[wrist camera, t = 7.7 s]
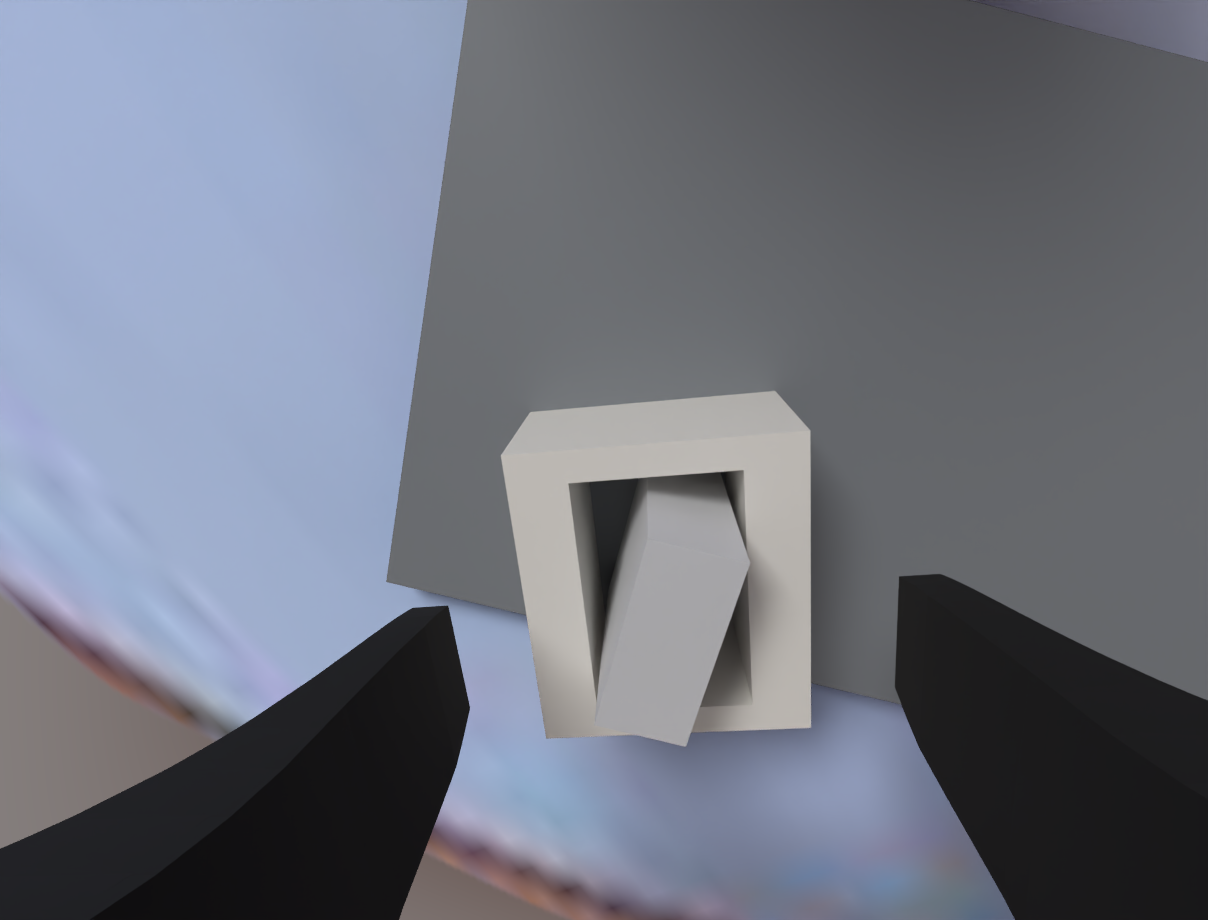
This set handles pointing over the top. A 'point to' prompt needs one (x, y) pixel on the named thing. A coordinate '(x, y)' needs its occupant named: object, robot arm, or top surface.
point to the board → (828, 318)
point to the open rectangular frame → (571, 567)
